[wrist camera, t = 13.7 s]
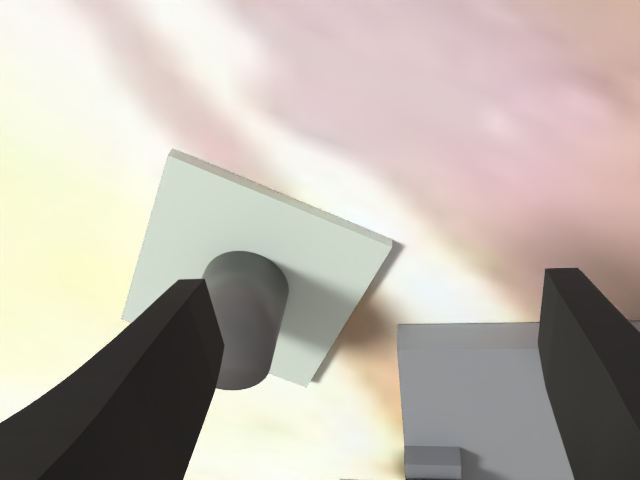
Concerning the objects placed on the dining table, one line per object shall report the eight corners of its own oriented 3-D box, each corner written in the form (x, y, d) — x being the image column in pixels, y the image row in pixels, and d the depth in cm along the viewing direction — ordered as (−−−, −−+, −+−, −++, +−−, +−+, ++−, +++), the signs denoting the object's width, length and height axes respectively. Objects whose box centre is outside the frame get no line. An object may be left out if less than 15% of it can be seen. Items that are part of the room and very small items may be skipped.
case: (817, 318, 23) (858, 366, 21) (725, 523, 30) (748, 573, 28) (397, 324, 25) (397, 367, 23) (411, 510, 33) (411, 555, 31)
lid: (392, 232, 23) (390, 318, 19) (309, 371, 28) (293, 461, 24) (176, 143, 22) (125, 213, 18) (129, 304, 27) (81, 387, 23)
